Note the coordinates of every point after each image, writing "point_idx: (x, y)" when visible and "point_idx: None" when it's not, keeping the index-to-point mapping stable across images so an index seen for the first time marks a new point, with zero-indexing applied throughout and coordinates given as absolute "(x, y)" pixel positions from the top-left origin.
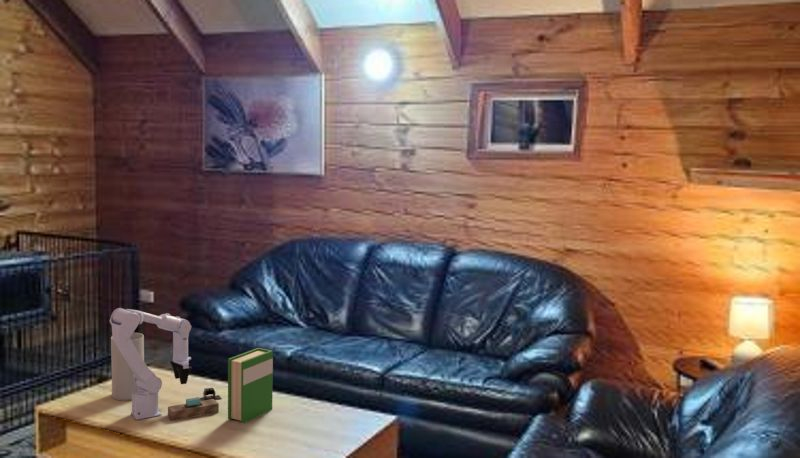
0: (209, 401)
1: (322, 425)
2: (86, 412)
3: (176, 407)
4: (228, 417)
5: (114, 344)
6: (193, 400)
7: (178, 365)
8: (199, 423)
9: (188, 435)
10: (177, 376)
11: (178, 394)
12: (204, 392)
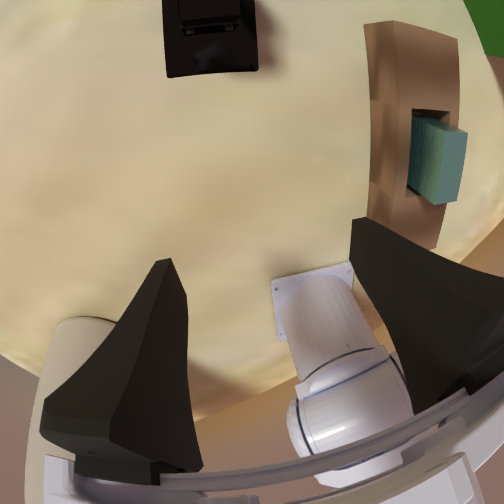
0: (422, 60)
1: None
2: (227, 399)
3: (411, 230)
4: (493, 54)
5: None
6: (461, 171)
7: (168, 406)
8: (473, 148)
9: (499, 199)
10: (181, 299)
11: (84, 183)
12: (217, 24)
